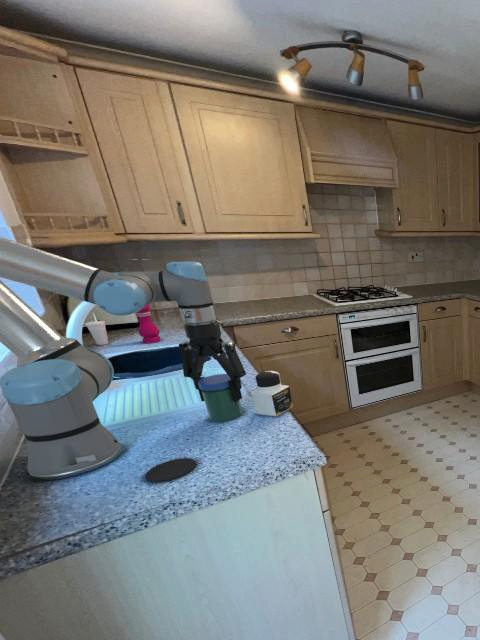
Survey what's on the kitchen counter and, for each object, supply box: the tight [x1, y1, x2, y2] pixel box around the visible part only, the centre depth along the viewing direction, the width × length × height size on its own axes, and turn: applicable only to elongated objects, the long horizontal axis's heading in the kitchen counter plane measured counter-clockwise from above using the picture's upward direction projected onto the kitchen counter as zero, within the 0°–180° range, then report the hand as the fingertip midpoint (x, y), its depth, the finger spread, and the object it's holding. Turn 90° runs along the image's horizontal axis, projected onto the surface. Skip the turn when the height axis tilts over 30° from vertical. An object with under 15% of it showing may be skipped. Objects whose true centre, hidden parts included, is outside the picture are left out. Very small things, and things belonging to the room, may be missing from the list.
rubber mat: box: [144, 457, 197, 484], centre depth 92 cm, size 9×9×1 cm
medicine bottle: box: [250, 370, 294, 417], centre depth 119 cm, size 7×7×12 cm
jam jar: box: [202, 387, 244, 423], centre depth 116 cm, size 8×8×10 cm
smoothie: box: [84, 312, 109, 346], centre depth 178 cm, size 6×6×14 cm
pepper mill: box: [135, 303, 162, 344], centre depth 182 cm, size 7×7×20 cm
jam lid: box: [198, 373, 230, 391], centre depth 114 cm, size 9×8×2 cm
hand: (222, 399), depth 116 cm, fingers closed on jam lid, 8 cm apart
